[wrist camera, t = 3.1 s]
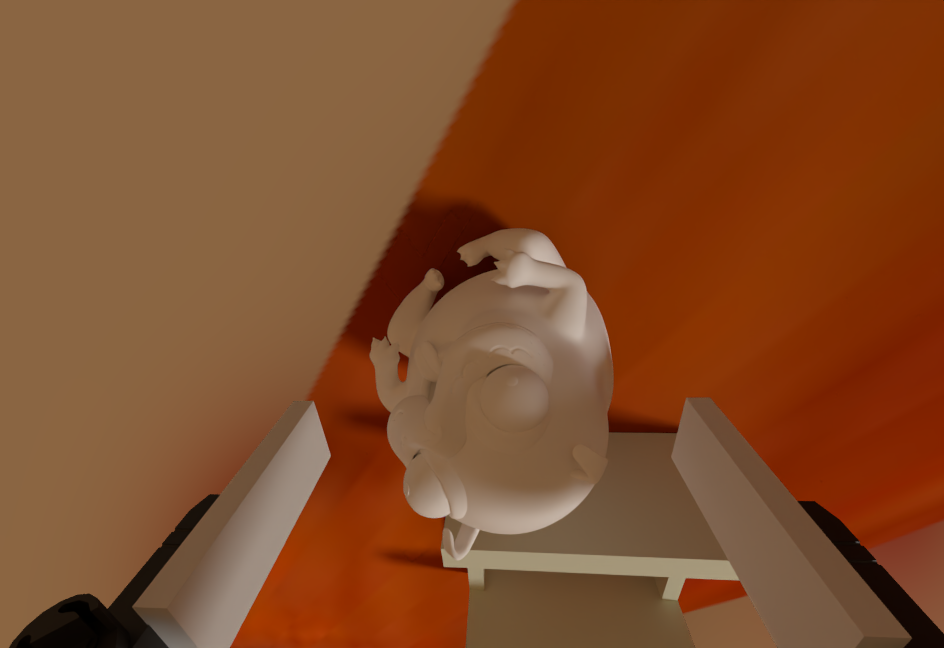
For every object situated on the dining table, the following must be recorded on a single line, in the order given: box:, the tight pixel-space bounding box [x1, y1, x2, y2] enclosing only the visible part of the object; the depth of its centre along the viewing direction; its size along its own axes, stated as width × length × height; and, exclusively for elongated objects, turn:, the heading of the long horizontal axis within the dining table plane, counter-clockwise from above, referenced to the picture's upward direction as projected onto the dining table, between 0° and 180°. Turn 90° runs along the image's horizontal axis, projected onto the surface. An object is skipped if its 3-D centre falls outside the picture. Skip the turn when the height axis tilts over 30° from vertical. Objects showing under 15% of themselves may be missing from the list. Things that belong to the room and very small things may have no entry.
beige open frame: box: [441, 432, 739, 648], centre depth 24 cm, size 17×16×8 cm
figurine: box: [370, 228, 613, 560], centre depth 15 cm, size 10×10×12 cm
